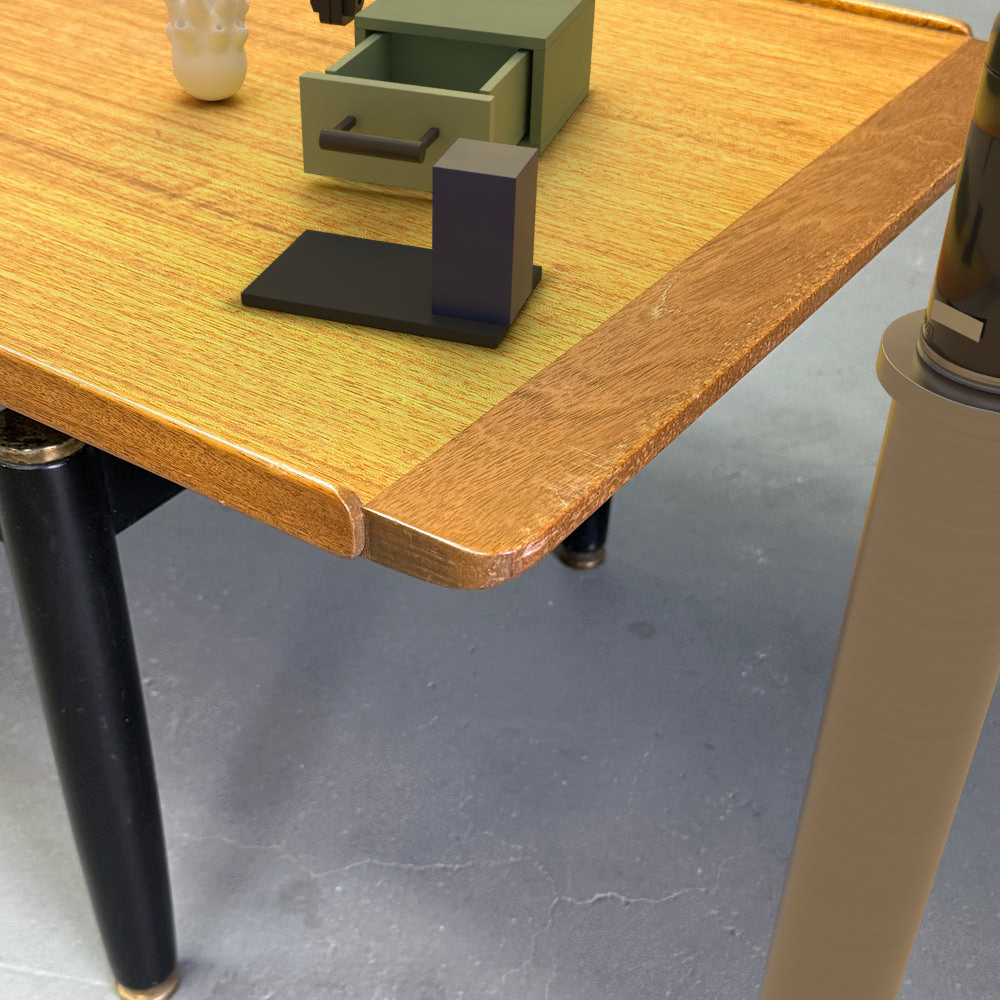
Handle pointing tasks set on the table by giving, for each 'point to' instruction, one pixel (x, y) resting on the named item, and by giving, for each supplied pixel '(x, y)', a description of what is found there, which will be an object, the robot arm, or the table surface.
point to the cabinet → (507, 44)
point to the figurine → (208, 46)
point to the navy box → (483, 230)
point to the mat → (364, 287)
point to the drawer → (411, 106)
